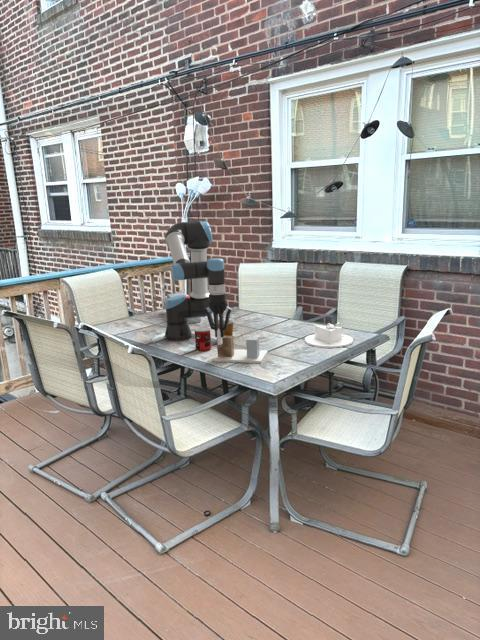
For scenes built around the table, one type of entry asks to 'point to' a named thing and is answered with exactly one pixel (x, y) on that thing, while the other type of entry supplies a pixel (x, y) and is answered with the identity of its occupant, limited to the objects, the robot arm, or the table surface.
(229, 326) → the disposable coffee cup
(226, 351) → the walnut block
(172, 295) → the soda pack
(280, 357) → the table surface
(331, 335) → the dish
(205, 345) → the canned food
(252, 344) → the grey block
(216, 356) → the board
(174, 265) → the robot arm
